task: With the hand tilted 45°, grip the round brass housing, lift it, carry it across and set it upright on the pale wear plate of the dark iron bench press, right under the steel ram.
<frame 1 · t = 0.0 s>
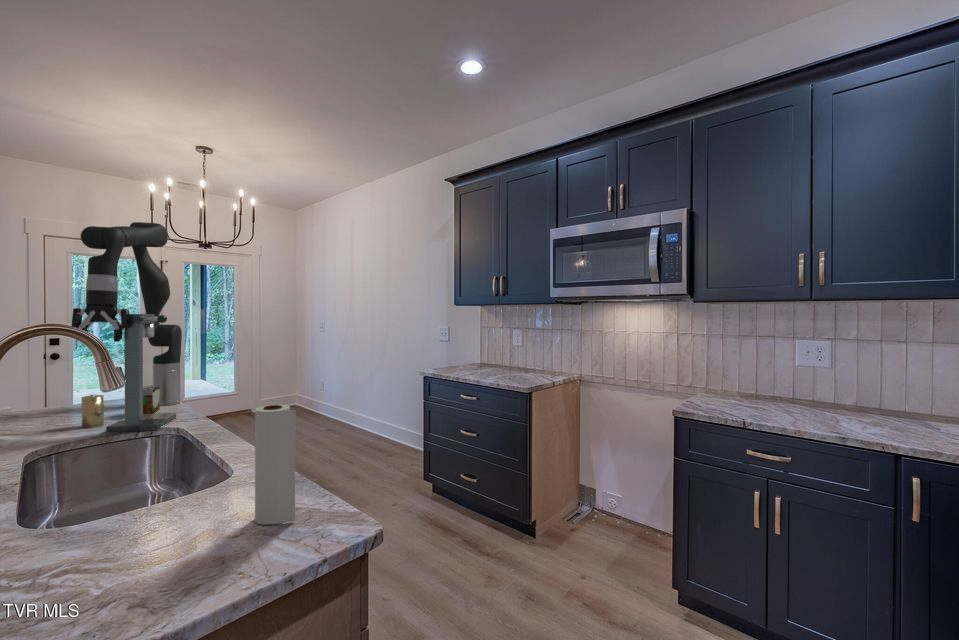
hand: (100, 341, 135), 29 cm above the table, tool pointing down, fingers open, 8 cm apart
paper towel roll: (273, 520, 82), on the table
press: (143, 425, 147), on the table
food container: (146, 414, 163), on the table
housing: (92, 426, 146), on the table
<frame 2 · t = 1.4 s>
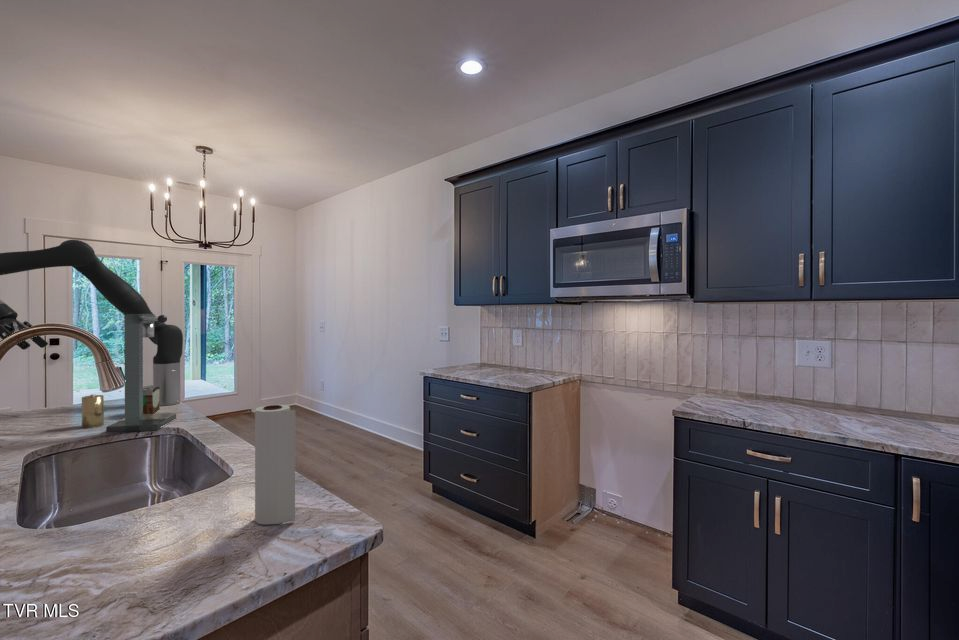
hand: (36, 346, 141), 27 cm above the table, tool tilted 45°, fingers open, 8 cm apart
nothing on the table moved.
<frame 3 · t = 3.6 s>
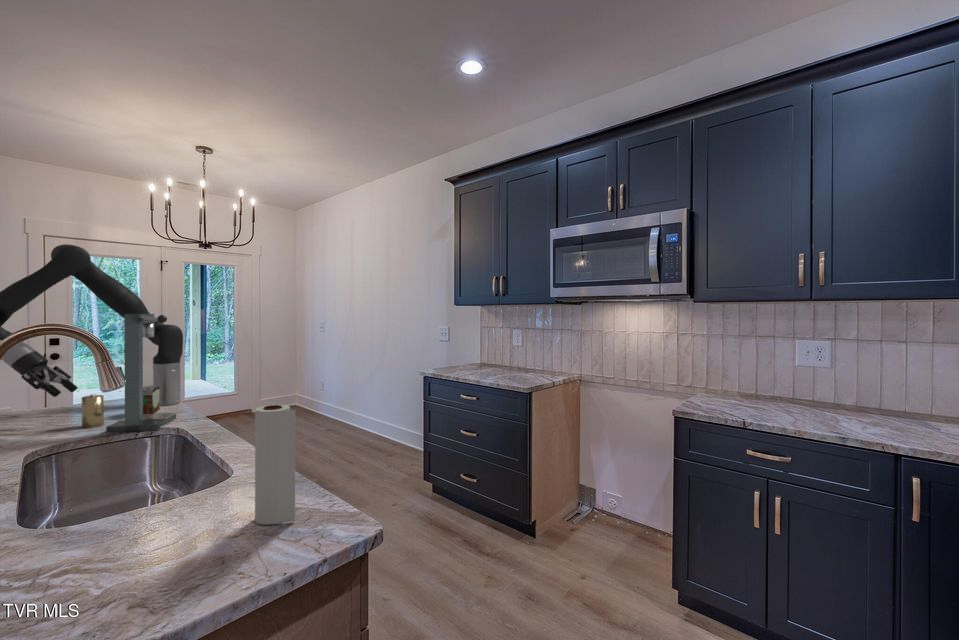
hand: (66, 392, 144), 12 cm above the table, tool tilted 45°, fingers open, 8 cm apart
nothing on the table moved.
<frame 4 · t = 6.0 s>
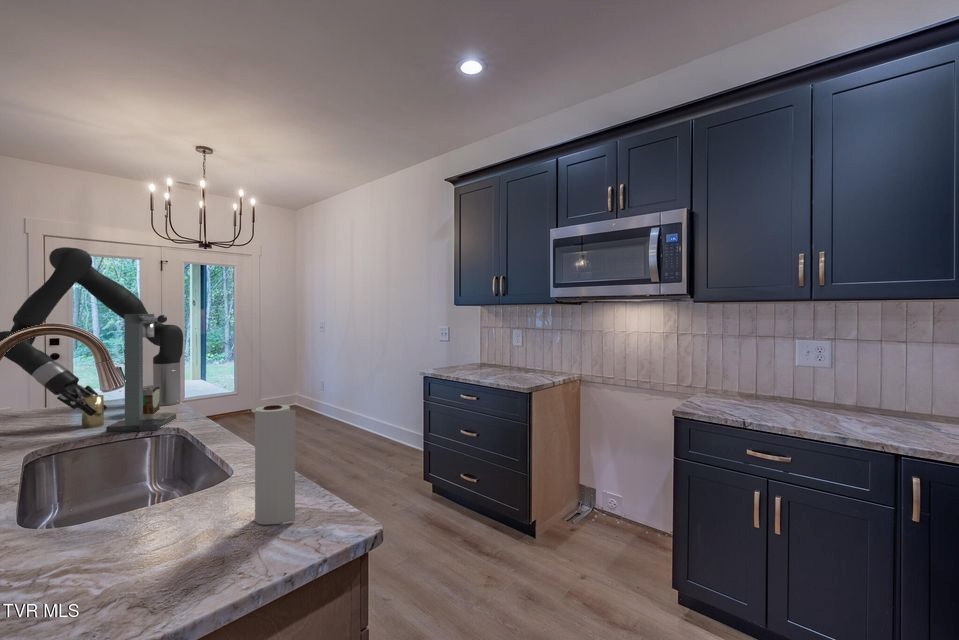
hand: (99, 411, 146), 5 cm above the table, tool tilted 45°, fingers closed on housing, 5 cm apart
housing: (92, 426, 146), on the table, touching gripper
everything else where it was.
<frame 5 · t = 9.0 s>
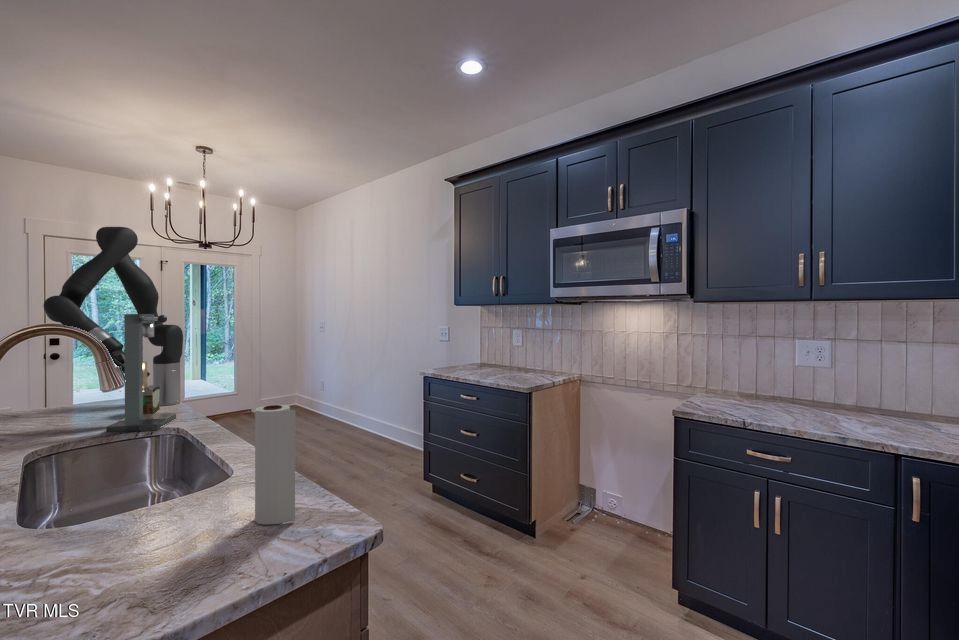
hand: (143, 377, 149), 16 cm above the table, tool tilted 45°, fingers closed on housing, 5 cm apart
housing: (137, 391, 149), point 11 cm above the table, touching gripper
everything else where it was.
when the fingers open (8 cm above the table, at t = 11.7 s): housing drops 1 cm, resting on press.
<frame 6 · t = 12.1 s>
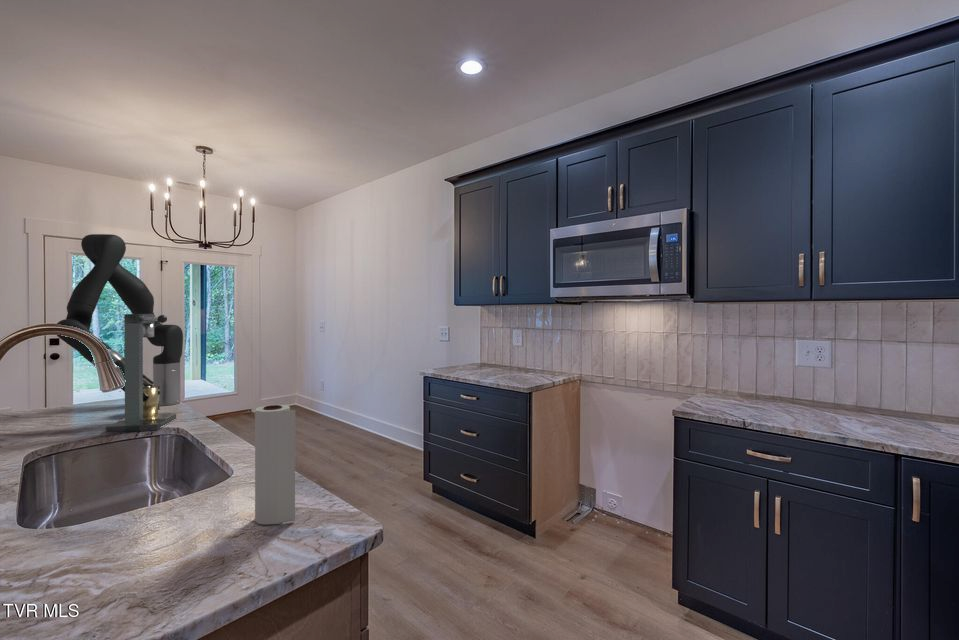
hand: (152, 397, 150), 9 cm above the table, tool tilted 45°, fingers open, 8 cm apart
housing: (147, 416, 150), point 2 cm above the table, touching press
everything else where it was.
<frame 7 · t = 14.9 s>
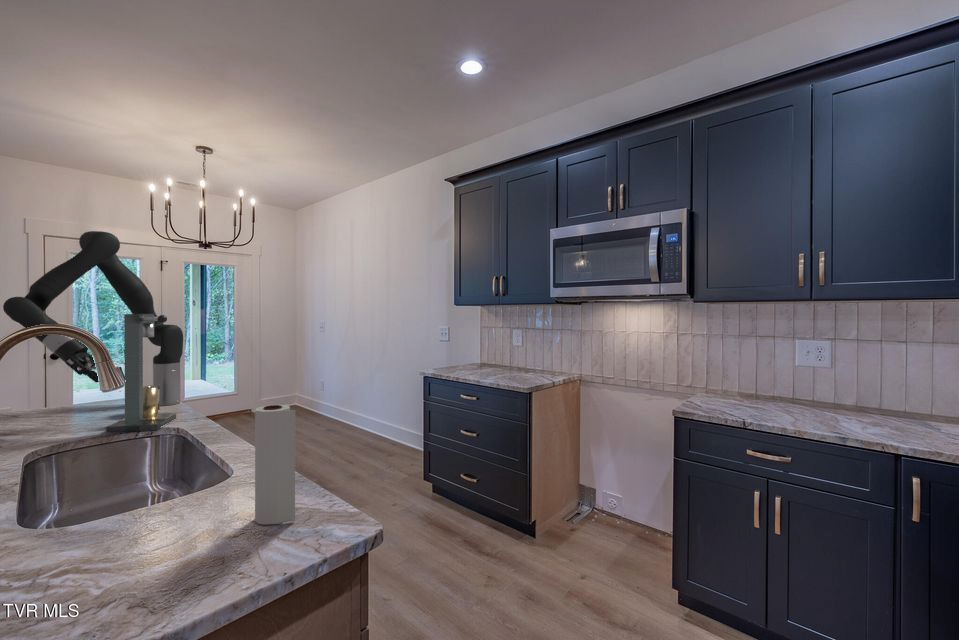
hand: (107, 378, 147), 16 cm above the table, tool tilted 45°, fingers open, 8 cm apart
nothing on the table moved.
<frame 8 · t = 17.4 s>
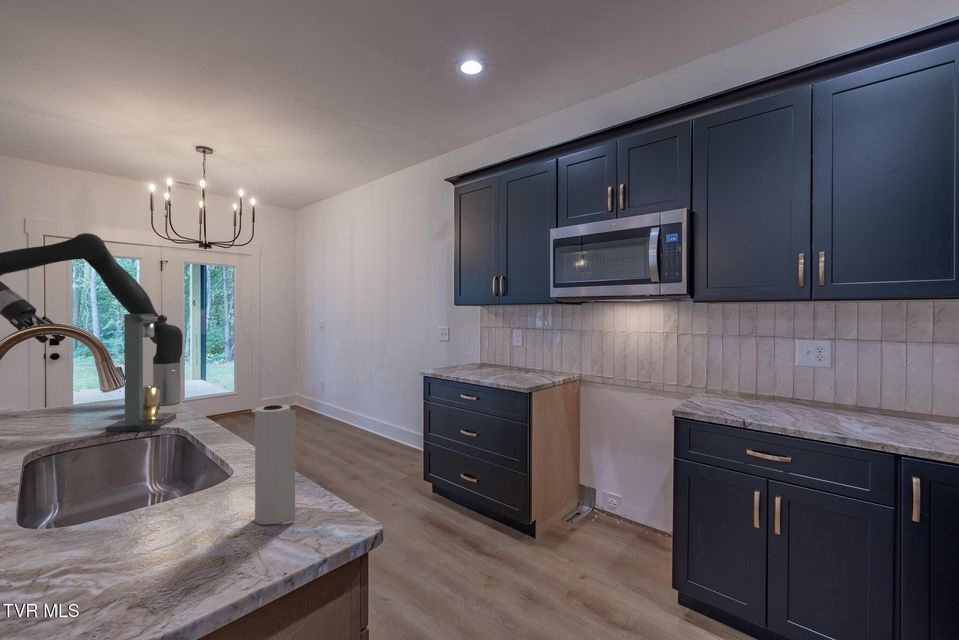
hand: (54, 340, 147), 29 cm above the table, tool tilted 45°, fingers open, 8 cm apart
nothing on the table moved.
at the end: housing 0.1 cm from the target spot on the press, point 2.3 cm above the press's base; housing tilted 1°; the gripper is holding nothing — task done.
